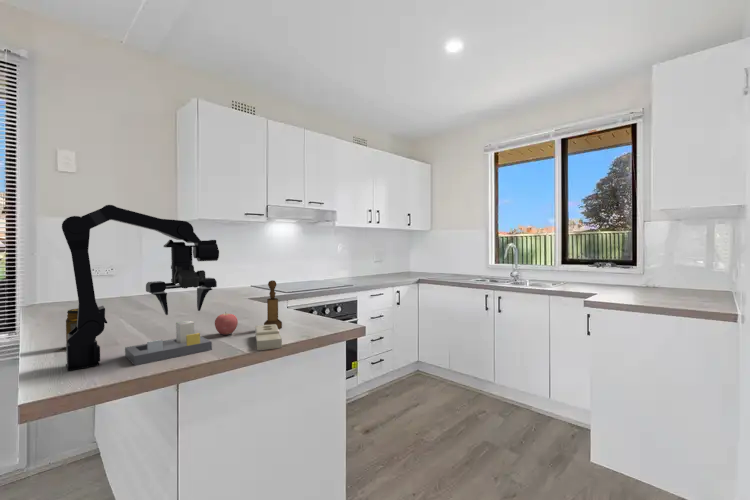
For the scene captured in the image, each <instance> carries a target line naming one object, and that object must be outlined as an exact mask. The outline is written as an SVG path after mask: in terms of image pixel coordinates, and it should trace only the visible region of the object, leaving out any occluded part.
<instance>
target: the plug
mask: <svg viewBox="0 0 750 500" xmlns="http://www.w3.org/2000/svg"><path fill="white" fill-rule="evenodd" d="M175 325H176V326H175V331H176V332H175V335H176V338H175V339H176V342H177V343H178V344H180V343H185V342H186V335H190V334H196V332H195V322H194V321H191V320H185V321H180V322H179V321H178V322H176V323H175Z"/></svg>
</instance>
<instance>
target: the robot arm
mask: <svg viewBox="0 0 750 500" xmlns="http://www.w3.org/2000/svg"><path fill="white" fill-rule="evenodd" d="M108 221H114V222H119V223H123V224H127V225H131V226H135V227H138V228H139V227H140V228H144V229H147V230H151V231H155V232H158V233H161V234H162V235H164V236H166V237H169V238H171V239H169V240H168V241H167V242H166V243H165V244H163V248H171V249H170V250H171V251H170V252H171V254H170V255H171V257H170V259H171V265H170V269H171V280H170V282H165V281H161V280H158V281H157V280H156V281H147V282H146V283H145V292H147V293H150V295H153V296H155V297H156V298H157V300H158V301H159V303H160V306H161V308H162V310H163V312H164V315H166V316H168V315H169V308H168V307H169V306H168V299H167V298H168V297H167V296H168V293H167V292H166V290H170V289H171V290H172V289H188V288H195V289H196V307H197V311H198V312H200V311H201V309H202V306H203V304H204V301H205V298H206V296H207V294H208V293H209V292H210V291H213V288H217V287H218V285H217V284H218V283H217V279H215V278H214V277H206V271H205V270H197V271H195V266H194V265H193V258H194V259H196V261H197V262H214V261H215V262H217V261H218V260H219V258H220V249H219V247H218V244H217V240H216V239H209V240H201V239H200V237H198V235H197V234H196V232H194V227H193V225H192V223H190V221H187V220H180V219H179V220H178V219H166V218H159V217H156V216H152V215H147V214H145V213H141V212H136V211H132V210H130V209H125V208H121V207H118V206H115V205H113V204H106V205H104V206H103V207H101V208H99V209H96V210H94V211H90V212H89V213H86V214H84V215H81V216H79V215H72V216H68V217H66V218H65V219H64V220H63V221H62V223H61V229H62V233H63V236H64V238H65V240H66V243H67V245H68V248H69V251H70V254H71V261H72V267H73V275H74V279H75V287H76V293H77V300H78V307H77V309H78V317H77V326H76V327H75V328H74V329H73V330H72V331H70V332H69V333H68V335H67V341H68V344H65V347H66V351H65V353H66V363H65V368H66V369H67V371H68V372H69V371H71V372H72V371H75V370H81V369H86V368H90V367H96V366H99V365H100V362H101V346H100V345H99V344H98V340H97V339H96V338H97V337H98V336H100V335H101V334H102V333H103V332H104V330H105V324H108V321H107V319H106V308H105V306H104V305H101V306H98V303H97V302H96V295H95V289H94V280H93V275H92V268H91V260H90V256H89V255H90V254H89V245H90V235H91V229H93V228H95V227H97V226H100V225H102V224H104V223H106V222H108ZM174 240H176V241H174ZM186 243H187V245H186ZM188 244H191V245H188ZM192 244H193V245H192Z"/></svg>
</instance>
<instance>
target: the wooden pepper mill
mask: <svg viewBox="0 0 750 500" xmlns="http://www.w3.org/2000/svg"><path fill="white" fill-rule="evenodd" d="M267 286H268V287H269V289H270V290H269V297H270V298H269V297H268V298H267V302H266V303H267V319H266V320H265V321H264V323H263V325H271V324H276V325H277V327H278V329H279V330H280V329H282V328H283V322H282V321H281V320H280V319H279V299H278V298H276V294H277V292H275V289H276V288H277V281H275V280H269V281H268V283H267Z"/></svg>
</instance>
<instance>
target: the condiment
mask: <svg viewBox="0 0 750 500" xmlns="http://www.w3.org/2000/svg"><path fill="white" fill-rule="evenodd" d="M66 313H67V315H66V316H67V318H66V319H65V335H66V337H65V339H66V344H68V341H67V335H68V333H69V332H70V331H72V330H73V329H74V328H75V327H76V326H77V317H78V308H72V309H68V310H67V312H66ZM66 344H65V345H66ZM54 352H66V346H64V347H61V348H57V349H55V350H54Z"/></svg>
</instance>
